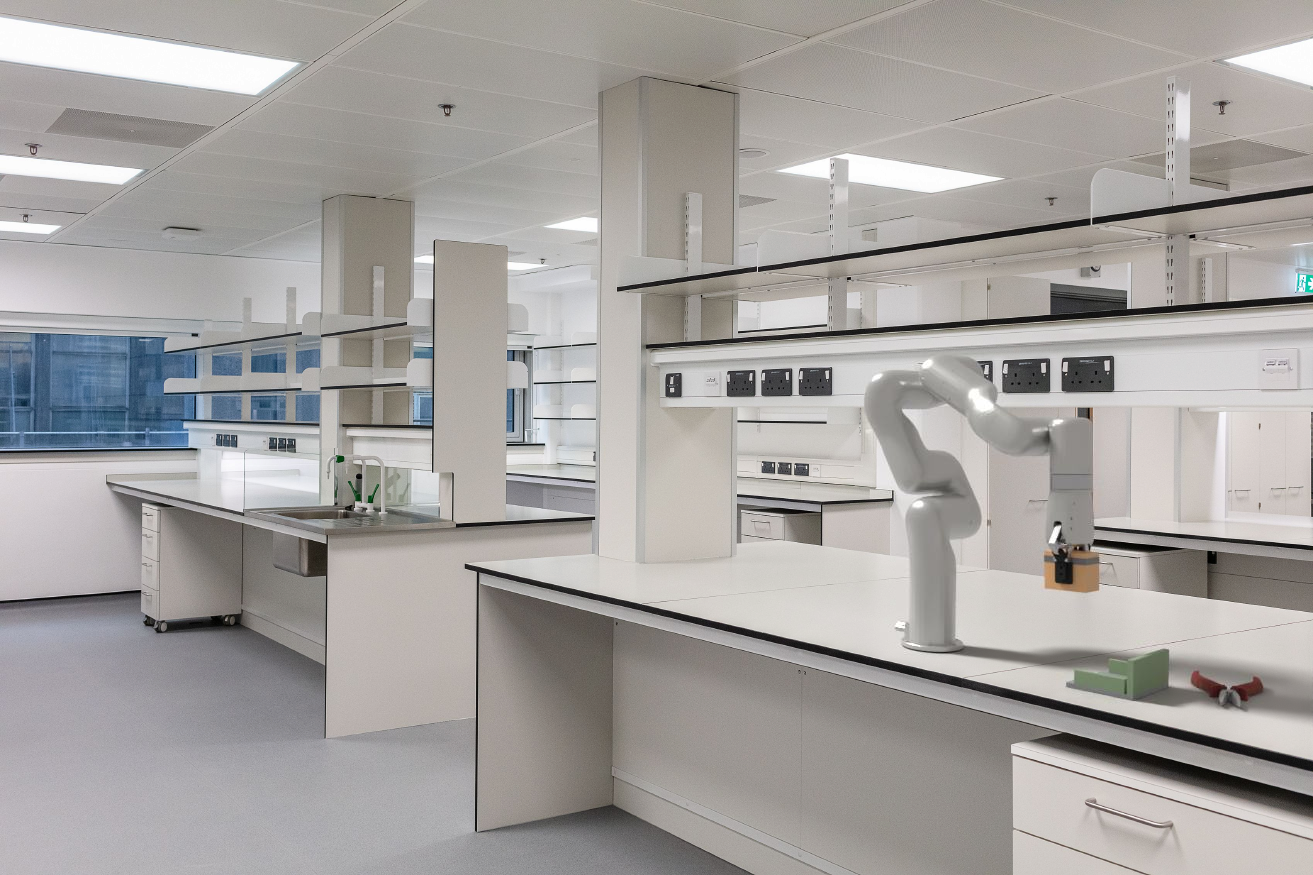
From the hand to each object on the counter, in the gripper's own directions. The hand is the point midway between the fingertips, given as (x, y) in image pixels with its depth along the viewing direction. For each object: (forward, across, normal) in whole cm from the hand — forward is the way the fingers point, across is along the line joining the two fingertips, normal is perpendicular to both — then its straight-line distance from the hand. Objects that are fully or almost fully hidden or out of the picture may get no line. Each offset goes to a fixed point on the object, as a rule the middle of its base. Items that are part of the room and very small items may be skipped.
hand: (1071, 580), depth 195 cm
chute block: (+2, 0, 0) cm, 2 cm away
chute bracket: (+18, 0, +8) cm, 20 cm away
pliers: (+19, -10, +22) cm, 31 cm away
